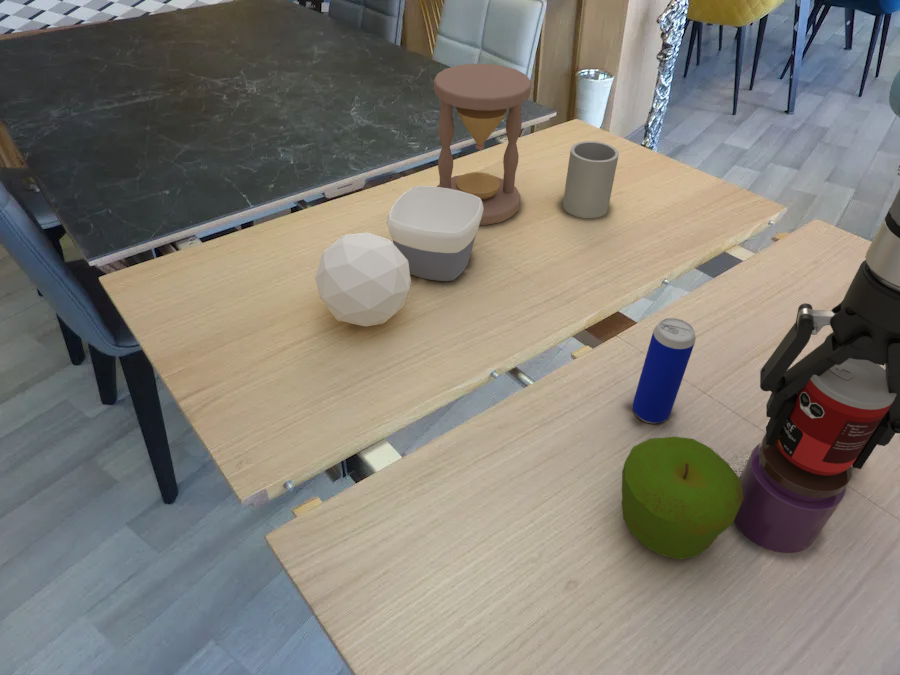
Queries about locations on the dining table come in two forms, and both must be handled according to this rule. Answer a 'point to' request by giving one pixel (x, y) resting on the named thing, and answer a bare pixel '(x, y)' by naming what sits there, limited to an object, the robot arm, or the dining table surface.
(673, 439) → the apple
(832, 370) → the canned food
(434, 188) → the bowl
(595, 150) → the cup
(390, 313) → the geometric shape
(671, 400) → the beverage can
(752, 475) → the jar
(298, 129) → the dining table surface
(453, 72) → the hourglass
